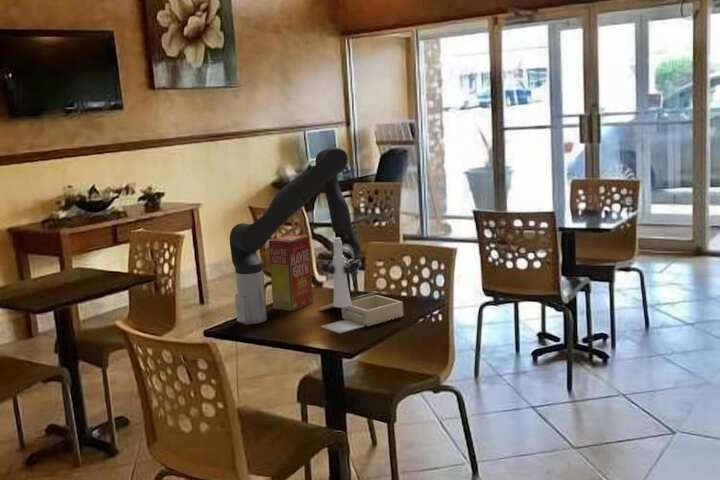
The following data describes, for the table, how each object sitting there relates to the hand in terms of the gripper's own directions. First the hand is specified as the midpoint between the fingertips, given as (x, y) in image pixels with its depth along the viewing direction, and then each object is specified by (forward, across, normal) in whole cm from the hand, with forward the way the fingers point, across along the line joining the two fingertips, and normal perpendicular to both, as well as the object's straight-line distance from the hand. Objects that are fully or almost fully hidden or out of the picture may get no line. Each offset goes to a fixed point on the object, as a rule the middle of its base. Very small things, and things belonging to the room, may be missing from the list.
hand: (338, 270), depth 245 cm
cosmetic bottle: (-3, 0, +12) cm, 13 cm away
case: (-12, +9, +19) cm, 25 cm away
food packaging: (-32, -20, +20) cm, 42 cm away
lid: (-23, 0, +16) cm, 28 cm away
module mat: (-2, 0, +19) cm, 19 cm away
